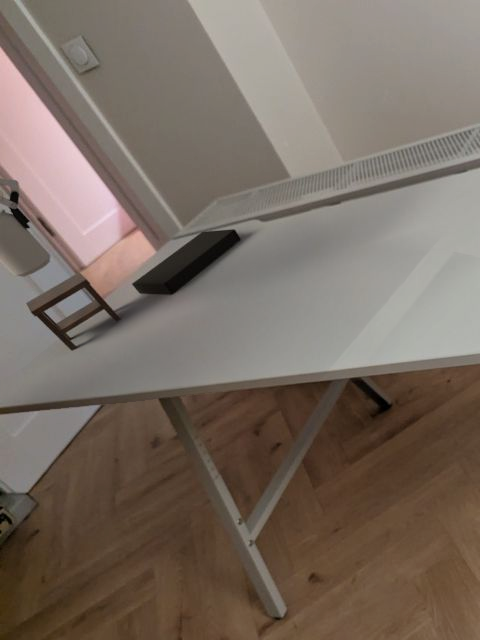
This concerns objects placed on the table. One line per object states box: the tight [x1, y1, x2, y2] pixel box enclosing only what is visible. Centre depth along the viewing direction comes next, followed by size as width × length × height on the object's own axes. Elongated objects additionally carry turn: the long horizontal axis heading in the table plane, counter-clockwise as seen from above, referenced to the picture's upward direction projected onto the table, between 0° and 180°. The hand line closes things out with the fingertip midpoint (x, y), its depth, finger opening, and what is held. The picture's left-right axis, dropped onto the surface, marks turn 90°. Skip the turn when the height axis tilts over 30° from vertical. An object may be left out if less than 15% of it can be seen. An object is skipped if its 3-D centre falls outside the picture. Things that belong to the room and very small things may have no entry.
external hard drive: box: [131, 228, 242, 296], centre depth 133 cm, size 14×23×3 cm, turn 153°
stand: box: [25, 272, 122, 351], centre depth 119 cm, size 12×9×11 cm
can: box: [0, 208, 51, 278], centre depth 107 cm, size 8×8×12 cm
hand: (6, 237), depth 106 cm, fingers closed on can, 7 cm apart
